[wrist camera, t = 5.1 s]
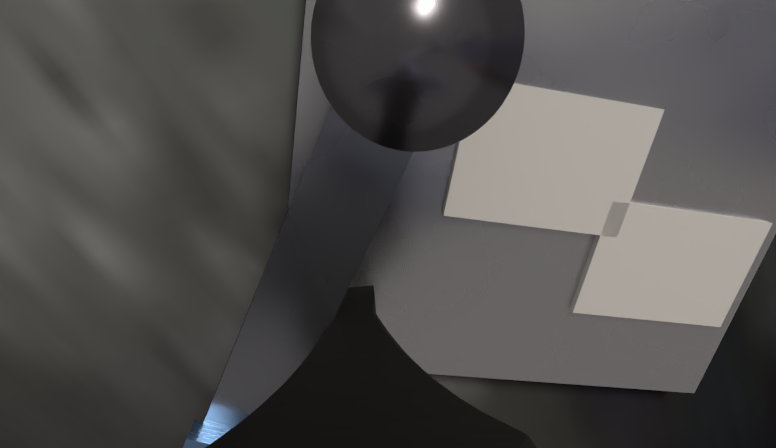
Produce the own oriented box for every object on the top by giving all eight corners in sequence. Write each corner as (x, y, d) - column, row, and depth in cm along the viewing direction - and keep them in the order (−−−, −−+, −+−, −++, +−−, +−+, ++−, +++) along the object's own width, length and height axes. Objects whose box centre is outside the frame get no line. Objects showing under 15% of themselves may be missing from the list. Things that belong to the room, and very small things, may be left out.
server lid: (856, 9, 11) (891, 5, 11) (677, 377, 15) (694, 392, 15) (319, -113, 9) (316, -128, 9) (278, 345, 13) (274, 362, 13)
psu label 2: (766, 220, 12) (772, 223, 12) (715, 323, 14) (720, 327, 13) (608, 198, 12) (612, 201, 12) (569, 309, 13) (572, 312, 13)
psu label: (659, 108, 11) (664, 109, 11) (612, 234, 12) (616, 237, 12) (471, 76, 10) (474, 76, 10) (441, 213, 11) (443, 215, 11)
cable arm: (357, -55, 9) (364, -134, 5) (481, 14, 10) (564, -14, 6) (190, 386, 12) (125, 523, 9) (290, 414, 13) (268, 551, 9)
